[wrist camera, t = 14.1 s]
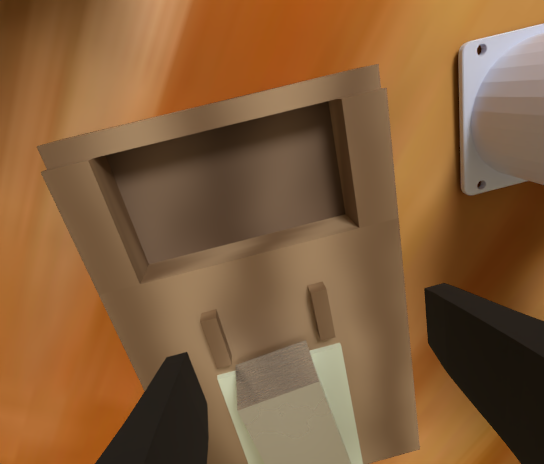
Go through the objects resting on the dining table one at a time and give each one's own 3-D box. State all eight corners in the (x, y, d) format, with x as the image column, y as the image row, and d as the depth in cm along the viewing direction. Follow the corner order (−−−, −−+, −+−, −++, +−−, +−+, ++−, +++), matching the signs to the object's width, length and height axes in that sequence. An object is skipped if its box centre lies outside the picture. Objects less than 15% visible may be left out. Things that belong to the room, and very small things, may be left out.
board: (359, 67, 18) (392, 61, 14) (399, 412, 27) (426, 460, 23) (60, 139, 17) (18, 151, 14) (203, 466, 26) (200, 524, 23)
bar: (305, 339, 19) (319, 381, 16) (353, 467, 23) (370, 518, 21) (235, 365, 19) (237, 410, 16) (295, 488, 23) (305, 541, 21)
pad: (339, 342, 20) (341, 346, 20) (362, 465, 24) (364, 469, 24) (217, 375, 20) (217, 379, 19) (260, 493, 24) (261, 498, 23)
